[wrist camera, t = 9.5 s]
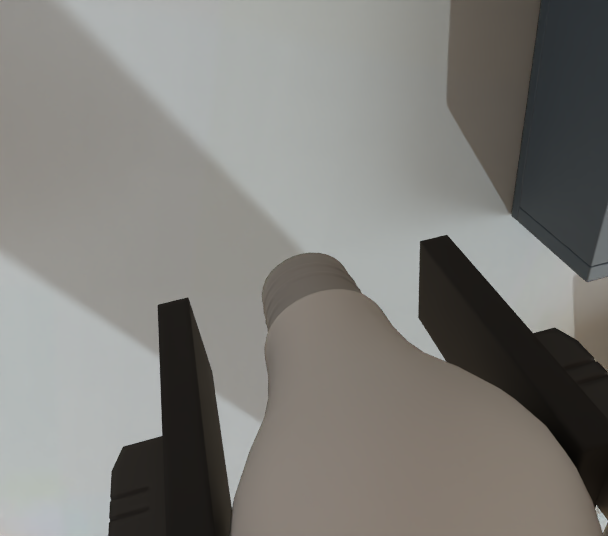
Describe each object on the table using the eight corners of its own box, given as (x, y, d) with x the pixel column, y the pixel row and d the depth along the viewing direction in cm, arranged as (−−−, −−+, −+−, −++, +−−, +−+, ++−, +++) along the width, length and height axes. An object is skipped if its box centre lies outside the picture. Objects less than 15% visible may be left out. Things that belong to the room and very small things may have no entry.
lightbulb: (161, 329, 15) (185, 901, 7) (245, 143, 13) (463, 684, 4) (336, 365, 18) (515, 806, 9) (436, 217, 16) (809, 639, 7)
